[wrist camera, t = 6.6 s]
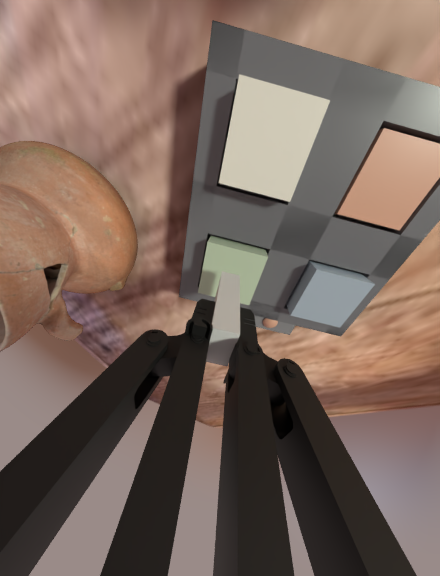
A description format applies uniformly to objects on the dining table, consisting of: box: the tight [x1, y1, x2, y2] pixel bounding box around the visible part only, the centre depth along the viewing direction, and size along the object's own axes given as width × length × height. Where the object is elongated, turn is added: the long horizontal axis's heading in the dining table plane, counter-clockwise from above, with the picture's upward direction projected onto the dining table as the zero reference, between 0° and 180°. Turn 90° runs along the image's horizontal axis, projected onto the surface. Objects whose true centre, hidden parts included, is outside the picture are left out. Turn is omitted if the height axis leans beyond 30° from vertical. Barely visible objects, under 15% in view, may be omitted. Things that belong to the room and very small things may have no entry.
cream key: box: [219, 74, 330, 202], centre depth 13 cm, size 6×6×2 cm
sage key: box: [198, 235, 268, 305], centre depth 18 cm, size 6×6×2 cm
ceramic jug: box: [0, 141, 138, 351], centre depth 15 cm, size 18×14×14 cm
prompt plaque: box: [254, 315, 295, 335], centre depth 25 cm, size 12×3×1 cm, turn 77°
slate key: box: [286, 260, 375, 328], centre depth 18 cm, size 6×6×2 cm
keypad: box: [179, 20, 440, 336], centre depth 17 cm, size 20×20×4 cm
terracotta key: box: [335, 128, 440, 230], centre depth 14 cm, size 6×6×2 cm
